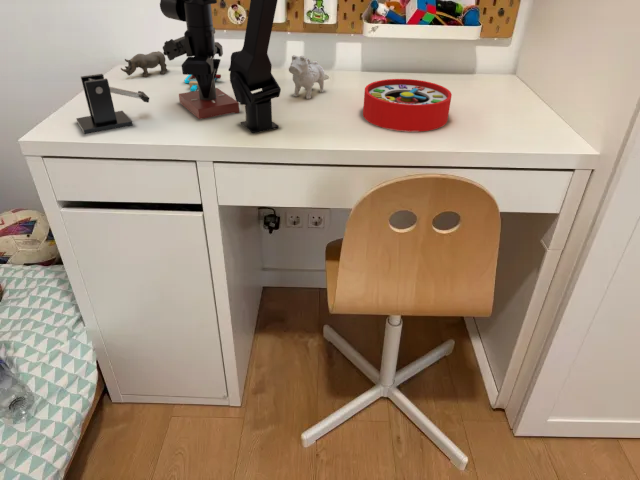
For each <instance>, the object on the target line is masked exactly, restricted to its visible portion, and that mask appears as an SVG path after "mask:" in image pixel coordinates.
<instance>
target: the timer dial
mask: <svg viewBox="0 0 640 480" xmlns="http://www.w3.org/2000/svg"><path fill="white" fill-rule="evenodd" d="M216 88H217V87H216V80H215V78H213V82H212V86H211V90H210V94H209V97H208V98H204V97H203V95H202V92H201V90H200V87H199V85H198V89H197V91H199V98H200V99H201V100H213V99H216Z"/></svg>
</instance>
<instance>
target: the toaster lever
mask: <svg viewBox="0 0 640 480" xmlns="http://www.w3.org/2000/svg"><path fill="white" fill-rule="evenodd" d="M91 80H95V79H90V78H89V80H88V81H91ZM109 88H110V92H111V94H116V95H121V96H125V97H130V98H135V99H139V100H142V102H144V103H150V97H149V96H148V95H147V94H146V93H145V92H144V91H142V90H138V91H137V92H136V91H132V90H127V89H122V88H118V87H113V86H109Z"/></svg>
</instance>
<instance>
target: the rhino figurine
mask: <svg viewBox="0 0 640 480" xmlns="http://www.w3.org/2000/svg"><path fill="white" fill-rule="evenodd" d="M124 62H126V63H127V64H128V65H126V66H125V65H124V68H122V67H120V70H121V71H122V72H124V73H125V74H126V75H127V76H128V77H129V76H131V75H132V74H134V73H135V72H136V71H137V69H138V68H140V69H141V70H142V71H143V72H142V75H143V77H144V78H147V77H149V74H148V73H149V71H148V69H154V68H156V67H158V66H160V71H159V74H160V75H165V74H166V72H168V68H167V66H168V65H167V63H166V55H164V54H163V51H159V50H157V51H152V52H149V53H145V54H144V53H137V54H135V55H134V56H133V57H131V58H130V59H127V58H124Z"/></svg>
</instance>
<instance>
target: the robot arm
mask: <svg viewBox="0 0 640 480" xmlns="http://www.w3.org/2000/svg"><path fill="white" fill-rule="evenodd" d="M214 4H215V5H216V4H218V0H160V2H159V9H160V11H161V13H162V14H163V16H165V17H166V18H168V19H172V20H174V21H179V22H185V23H186V30H185V31H184V33H183V34H184V35H183V36H181V37H178V38H175V39H173V38H170V39H169V40H166V41H165V42H164V44H163V46H162V50H163V51H162V53H163V54H164V56H166V57H167V59H168V62H169V61H174V60H175V59H176V58H178V57H181V56H184V55H185V56H186V57H187V58H186V59H185V60H184V61H183V63H182V64H181V71H182V75H187V76H188V75H193V76H194V77H195V78H196V80H197V82H198V85H199V87H200V90H201V92H202V95H203V97H204V98H208V97H209V94H210V90H211V86H212V82H213V78H216V74H217V73H218V71H219V67H220V64H221V58H220V57H222V56H223V55H224V51H223V49H224V48H223V45H222V44H221V43H220V42H219V41H215V34H216V27H214V22H213V11H212V5H214ZM277 5H278V0H250V1H249V8H248V14H247V21H246V27H245V33H244V40H243V46H242V49H241V50H238V51H233V52H232V53H231V56H230V65H229V67H228V72H230V73H229V81H230V84H231V88H232V91H233V95H234V99H235V100H236V101H237V102H239V105H241V106H244V111H245V121H240V125H241V126H242V127H243V128H245V129H246V130H247V131H249V132H250V133H251V134H258V133H262V132H267V131H271V130H277V129H279V125H278V124H277V123H275V122H273V108H272V107H273V106H272V100H273V99H276V98H279V97H280V96H281V91H282V88H281V86H280V85H279V83H278V81H277V80H276V78H275V77H274V75H273V74H272V65H273V64H272V62H271V59H270V57H269V54H268V52H269V45H270V42H271V41H270V40H271V36H272V31H273V26H274V22H275V21H274V20H275V15H276V10H277ZM215 55H218V57H219V58H215V57H216V56H215ZM216 79H217V78H216ZM257 90H259V91H257ZM254 91H256V92H254ZM252 92H253V93H252Z"/></svg>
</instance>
